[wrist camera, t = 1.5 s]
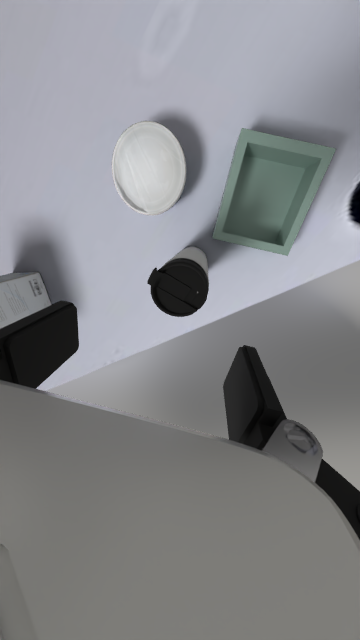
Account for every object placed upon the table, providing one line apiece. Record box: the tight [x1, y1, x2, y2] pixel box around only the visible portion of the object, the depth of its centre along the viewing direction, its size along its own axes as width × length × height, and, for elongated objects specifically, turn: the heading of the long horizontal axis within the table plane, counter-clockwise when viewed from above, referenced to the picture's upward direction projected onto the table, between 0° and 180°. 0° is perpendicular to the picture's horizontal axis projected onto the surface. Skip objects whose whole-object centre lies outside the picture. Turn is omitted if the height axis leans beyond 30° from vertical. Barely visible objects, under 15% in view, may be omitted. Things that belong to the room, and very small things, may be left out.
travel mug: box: [148, 247, 209, 317], centre depth 28 cm, size 6×7×20 cm
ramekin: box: [112, 121, 186, 215], centre depth 29 cm, size 11×11×5 cm
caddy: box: [212, 128, 336, 256], centre depth 29 cm, size 13×12×5 cm
